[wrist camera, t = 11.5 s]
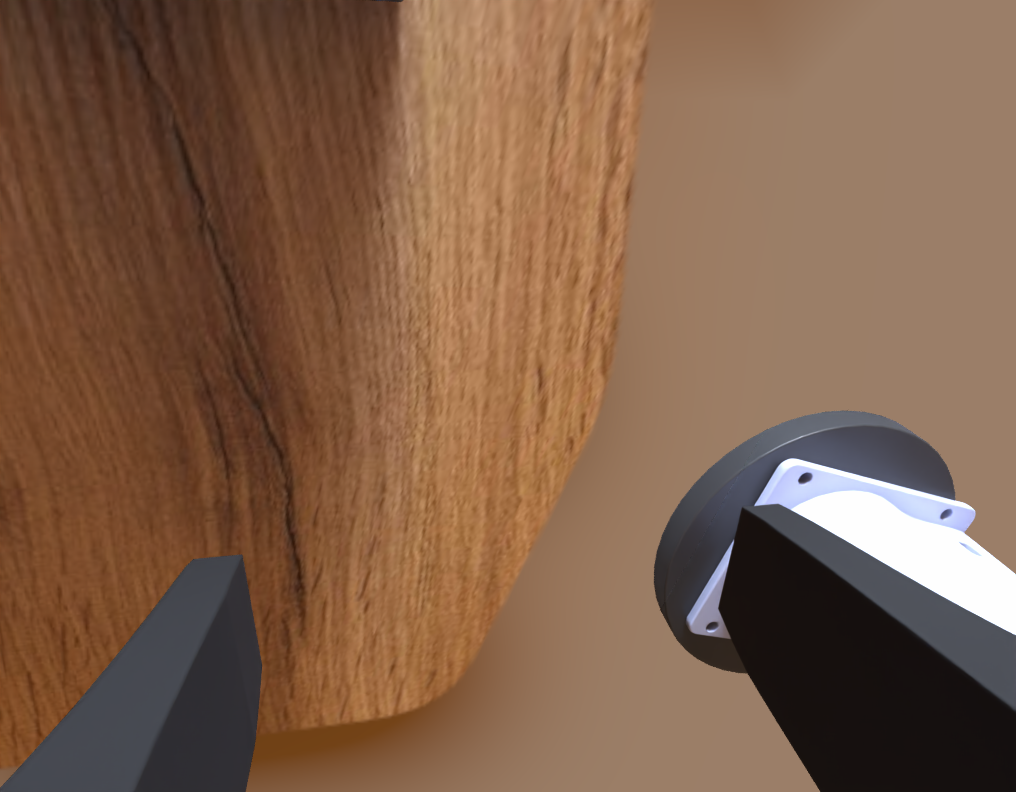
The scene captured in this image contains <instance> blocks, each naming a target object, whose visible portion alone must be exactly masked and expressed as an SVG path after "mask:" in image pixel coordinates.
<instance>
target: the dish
mask: <svg viewBox="0 0 1016 792" xmlns="http://www.w3.org/2000/svg"><path fill="white" fill-rule="evenodd" d="M374 1H391V2H401V1H403V0H374Z"/></svg>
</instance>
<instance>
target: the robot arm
mask: <svg viewBox="0 0 1016 792" xmlns="http://www.w3.org/2000/svg"><path fill="white" fill-rule="evenodd" d="M804 473H805V474H804ZM802 474H804V475H803V476H802V477H801V478H799V477H800V476H801V475H802ZM974 518H975V510H974V509H973V508H971V507H970V506H969V505H967V504H965V503H962V502H958V501H954V500H950V499H947V498H943V497H939V496H935V495H931V494H928V493H924V492H920V491H916V490H912V489H909V488H905V487H901V486H897V485H893V484H890V483H886V482H882V481H878V480H875V479H871V478H867V477H863V476H859V475H856V474H852V473H848V472H844V471H840V470H837V469H833V468H829V467H825V466H821V465H818V464H814V463H810V462H806V461H802V460H799V459H788V460H785V461H783V462H782V463H781V464H780V465H779V466H778V467H777V469H776V471H775V472H774V474H773V476H772V477H771V479H770V480H769V482H768V484H767V485H766V487H765V489H764V490H763V492H762V494H761V495H760V497H759V499H758V500H757V502H756V504H755V505H754V506H747V507H742V509H741V513H740V517H739V522H738V526H737V530H736V534H735V538H734V540H733V542H732V543H731V545H730V547H729V548H728V550H727V552H726V553H725V555H724V557H723V558H722V560H721V562H720V563H719V565H718V567H717V568H716V570H715V572H714V573H713V575H712V577H711V578H710V580H709V582H708V583H707V585H706V586H705V588H704V590H703V591H702V593H701V595H700V596H699V598H698V600H697V601H696V603H695V605H694V606H693V608H692V610H691V611H690V613H689V615H688V616H687V619H686V625H687V627H688V628H689V630H690V631H691V632H692V633H694V634H700V635H707V636H714V637H720V638H727V639H731V640H732V642H733V644H734V646H735V648H736V651H737V653H738V655H739V657H740V659H741V661H742V663H743V665H744V667H745V670H746V671H747V673H748V675H749V676H750V678H751V680H752V681H753V683H754V685H755V687H756V688H757V690H758V691H759V693H760V695H761V696H762V698H763V700H764V701H765V703H766V705H767V706H768V708H769V709H770V711H771V713H772V715H773V716H774V717H775V719H776V721H777V723H778V724H779V726H780V727H781V729H782V731H783V732H784V734H785V736H786V737H787V739H788V740H789V742H790V744H791V745H792V747H793V748H794V750H795V751H796V753H797V755H798V756H799V758H800V760H801V761H802V763H803V764H804V766H805V768H806V769H807V771H808V773H809V774H810V776H811V777H812V779H813V781H814V782H815V783H816V785H817V787H818V789H819V790H820V792H1016V574H1015V573H1013V572H1012V571H1011V570H1010V569H1008V568H1007V567H1006V566H1005V565H1003V564H1002V563H1001V562H1000V561H998V560H997V559H996V558H995V557H993V556H992V555H991V554H989V553H988V552H987V551H986V550H984V549H983V548H982V547H980V546H979V545H978V544H977V543H976V542H974V541H973V540H972V539H971V538H969V537H968V536H967V535H966V534H964V532H965V531H966V529H967V528H968V527H969V525H970V524H971V523H972V521H973V520H974ZM261 674H262V662H261V656H260V651H259V645H258V640H257V634H256V628H255V623H254V617H253V612H252V606H251V600H250V595H249V589H248V584H247V578H246V572H245V567H244V561H243V556H242V555H232V556H221V557H211V558H200V559H193V560H192V561H191V562H190V563H189V564H188V565H187V566H186V567H185V568H184V569H183V571H182V572H181V573H180V575H179V576H178V577H177V579H176V580H175V581H174V582H173V584H172V585H171V586H170V588H169V589H168V590H167V592H166V593H165V594H164V596H163V597H162V598H161V600H160V601H159V602H158V604H157V605H156V606H155V607H154V609H153V610H152V611H151V613H150V614H149V615H148V616H147V618H146V619H145V620H144V622H143V623H142V624H141V625H140V627H139V628H138V629H137V630H136V632H135V633H134V634H133V636H132V637H131V638H130V639H129V641H128V642H127V643H126V644H125V646H124V647H123V648H122V649H121V651H120V652H119V653H118V654H117V655H116V657H115V658H114V659H113V660H112V661H111V663H110V664H109V665H108V666H107V667H106V669H105V670H104V671H103V672H102V674H101V675H100V676H99V677H98V678H97V680H96V681H95V682H94V683H93V684H92V686H91V687H90V688H89V689H88V690H87V692H86V693H85V694H84V695H83V696H82V698H81V699H80V700H79V701H78V702H77V703H76V705H75V706H74V707H73V708H72V709H71V710H70V712H69V713H68V714H67V715H66V716H65V717H64V718H63V719H62V720H61V722H60V723H59V724H58V725H57V726H56V727H55V728H54V729H53V730H52V732H51V733H50V734H49V735H48V736H47V737H46V738H45V739H44V740H43V742H42V743H41V744H40V745H39V746H38V747H37V748H36V749H35V750H34V752H33V753H32V754H31V755H30V756H29V757H28V758H27V759H26V760H25V762H24V763H23V764H22V765H21V766H20V767H19V768H18V769H17V770H16V772H15V773H14V774H13V775H12V776H11V777H10V778H9V779H8V780H7V781H6V782H5V783H4V784H3V786H1V788H0V792H245V791H246V787H247V782H248V776H249V772H250V767H251V762H252V757H253V751H254V746H255V740H256V730H257V720H258V709H259V698H260V686H261Z"/></svg>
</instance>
